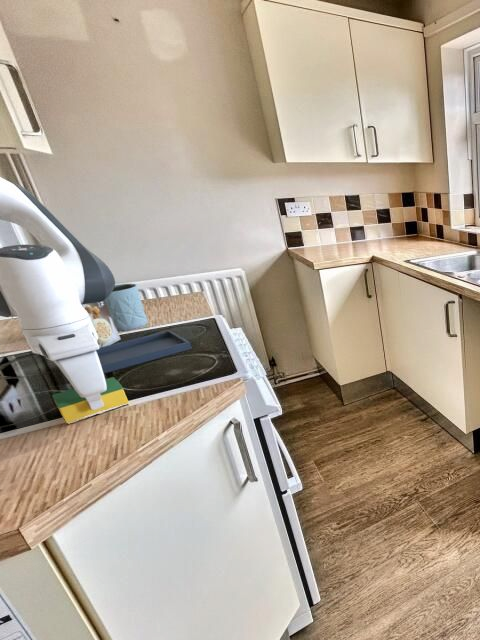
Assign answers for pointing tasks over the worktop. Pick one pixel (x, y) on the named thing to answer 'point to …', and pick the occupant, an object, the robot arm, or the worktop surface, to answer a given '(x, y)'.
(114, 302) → the light blue textured cup
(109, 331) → the coffee box
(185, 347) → the tray
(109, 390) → the sponge
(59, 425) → the worktop surface
